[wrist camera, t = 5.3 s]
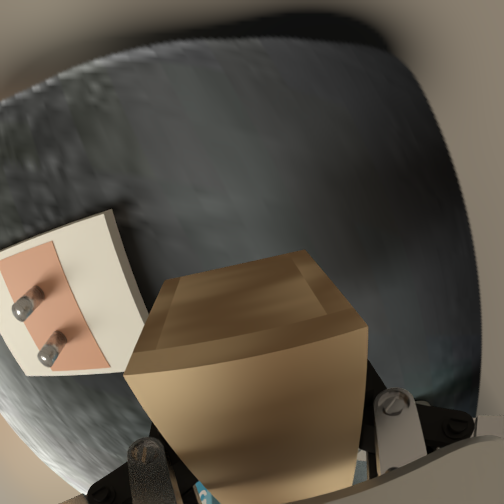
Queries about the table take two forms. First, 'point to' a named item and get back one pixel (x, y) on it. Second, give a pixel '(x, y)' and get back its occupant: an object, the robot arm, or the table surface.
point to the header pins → (24, 310)
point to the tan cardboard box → (256, 379)
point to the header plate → (73, 298)
